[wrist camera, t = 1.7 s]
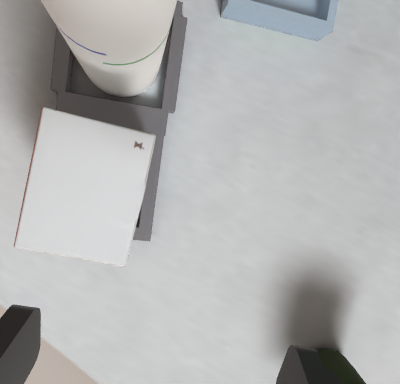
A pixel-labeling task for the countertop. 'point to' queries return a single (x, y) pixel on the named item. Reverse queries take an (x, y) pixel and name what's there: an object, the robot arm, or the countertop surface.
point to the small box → (84, 188)
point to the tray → (285, 15)
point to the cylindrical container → (115, 39)
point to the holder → (127, 109)
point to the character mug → (340, 366)
